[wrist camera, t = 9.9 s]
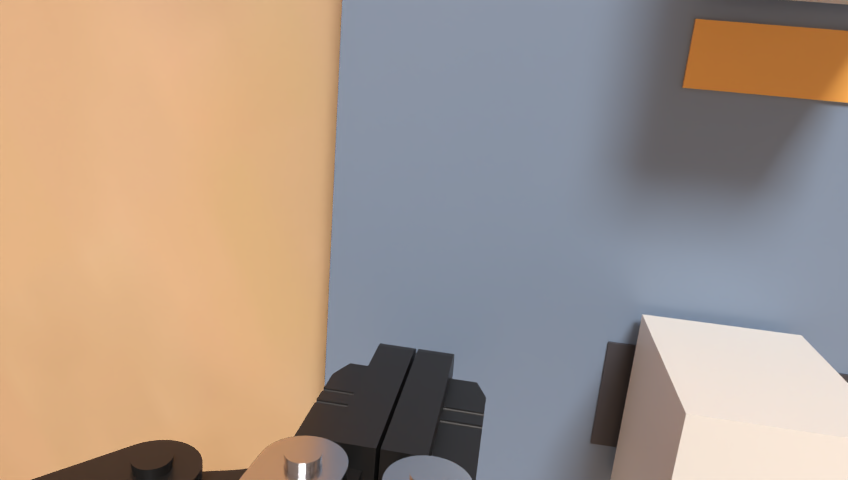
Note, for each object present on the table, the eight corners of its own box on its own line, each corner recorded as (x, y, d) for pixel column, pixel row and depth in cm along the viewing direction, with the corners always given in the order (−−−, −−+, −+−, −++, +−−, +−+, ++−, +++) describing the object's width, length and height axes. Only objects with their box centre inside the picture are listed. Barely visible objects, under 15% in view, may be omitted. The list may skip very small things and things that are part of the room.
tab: (801, 335, 13) (910, 447, 9) (754, 509, 14) (834, 669, 10) (642, 314, 13) (685, 413, 9) (609, 484, 14) (637, 632, 11)
